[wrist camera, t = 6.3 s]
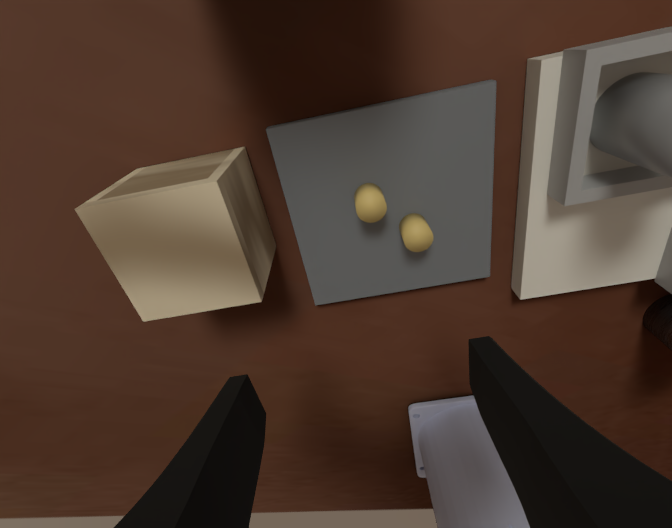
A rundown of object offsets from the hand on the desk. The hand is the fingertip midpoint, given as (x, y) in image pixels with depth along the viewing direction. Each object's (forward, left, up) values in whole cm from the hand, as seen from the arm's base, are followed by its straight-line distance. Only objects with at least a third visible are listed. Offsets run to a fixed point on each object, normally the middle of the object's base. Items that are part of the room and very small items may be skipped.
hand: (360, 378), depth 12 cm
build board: (+1, -16, -9) cm, 19 cm away
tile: (+2, -2, -9) cm, 10 cm away
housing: (+3, +7, -9) cm, 12 cm away
